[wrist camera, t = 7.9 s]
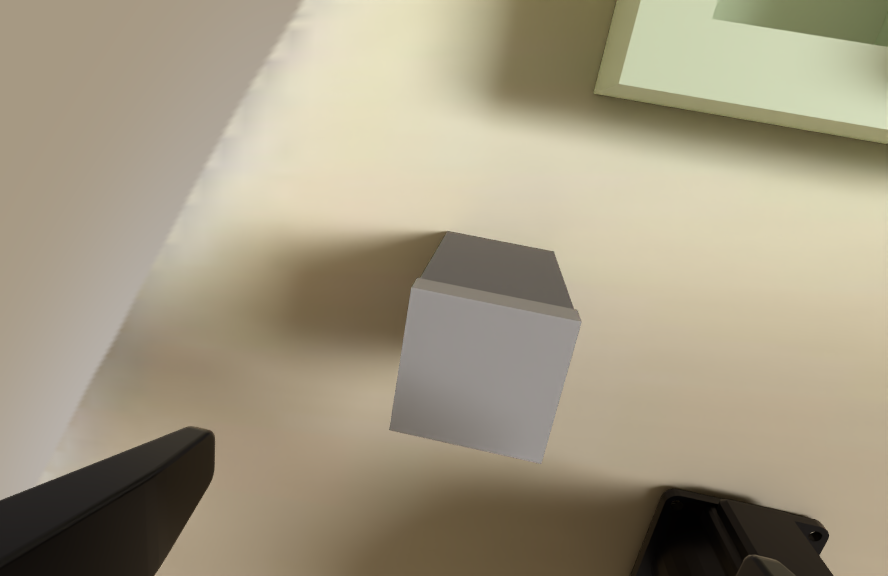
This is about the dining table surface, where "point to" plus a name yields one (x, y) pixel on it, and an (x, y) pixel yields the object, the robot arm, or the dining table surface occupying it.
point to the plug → (485, 348)
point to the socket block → (755, 61)
